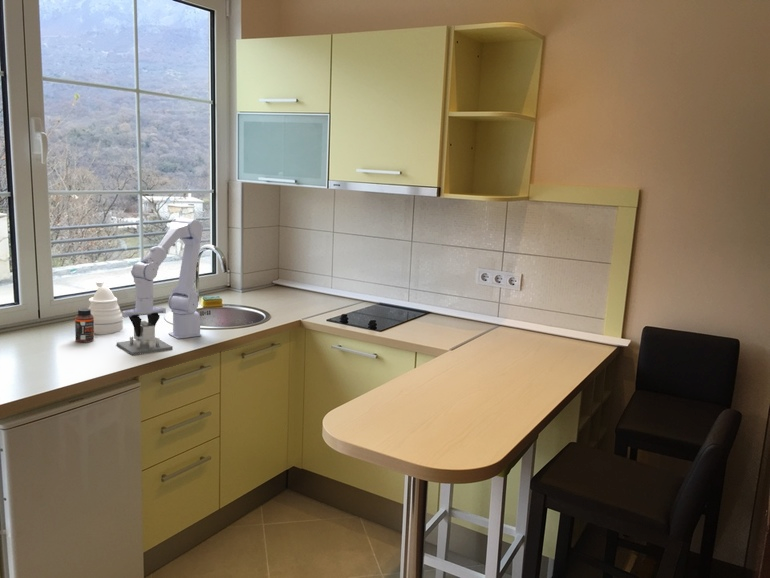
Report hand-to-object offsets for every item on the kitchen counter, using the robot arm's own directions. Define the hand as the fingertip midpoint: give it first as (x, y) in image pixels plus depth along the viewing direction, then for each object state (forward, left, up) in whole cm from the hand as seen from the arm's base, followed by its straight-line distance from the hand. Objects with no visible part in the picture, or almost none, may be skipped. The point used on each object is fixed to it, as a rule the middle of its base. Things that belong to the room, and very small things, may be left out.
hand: (144, 335), depth 224 cm
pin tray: (0, 0, -4) cm, 4 cm away
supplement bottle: (+14, -18, -5) cm, 23 cm away
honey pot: (+3, -30, -5) cm, 31 cm away
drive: (0, 0, -2) cm, 2 cm away
